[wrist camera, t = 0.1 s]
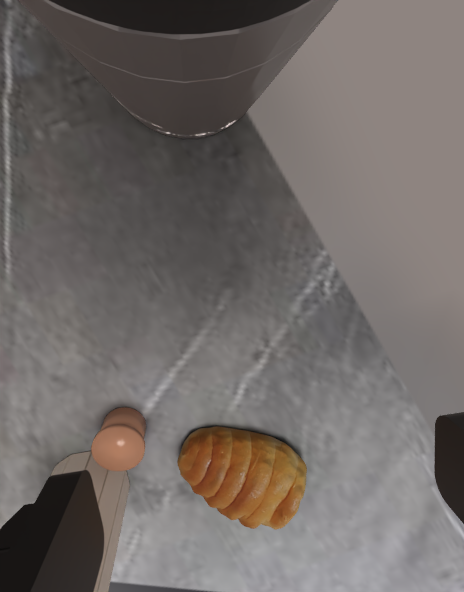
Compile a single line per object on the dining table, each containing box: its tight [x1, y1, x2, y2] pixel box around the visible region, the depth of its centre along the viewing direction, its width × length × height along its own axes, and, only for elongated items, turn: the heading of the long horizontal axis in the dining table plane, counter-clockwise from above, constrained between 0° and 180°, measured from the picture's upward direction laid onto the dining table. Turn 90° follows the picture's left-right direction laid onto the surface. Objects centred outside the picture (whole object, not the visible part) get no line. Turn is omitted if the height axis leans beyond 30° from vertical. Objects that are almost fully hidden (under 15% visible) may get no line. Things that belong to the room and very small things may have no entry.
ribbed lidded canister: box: [51, 451, 130, 592], centre depth 22 cm, size 6×6×14 cm
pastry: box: [178, 426, 307, 529], centre depth 28 cm, size 9×7×4 cm
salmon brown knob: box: [91, 407, 146, 471], centre depth 26 cm, size 3×3×3 cm
